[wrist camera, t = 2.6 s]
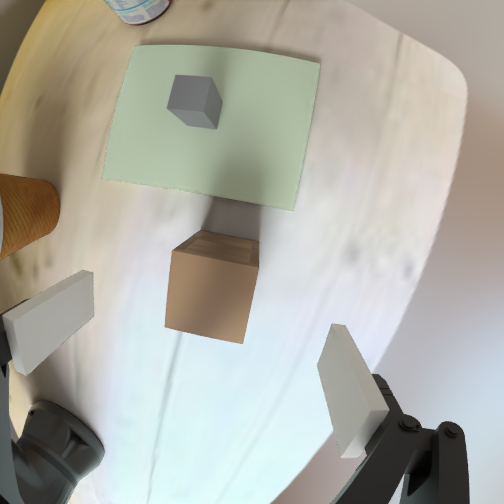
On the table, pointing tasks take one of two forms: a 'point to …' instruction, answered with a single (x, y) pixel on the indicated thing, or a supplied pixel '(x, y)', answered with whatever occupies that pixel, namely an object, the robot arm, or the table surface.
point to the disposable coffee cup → (25, 211)
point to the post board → (242, 129)
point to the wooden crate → (212, 286)
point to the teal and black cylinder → (138, 10)
